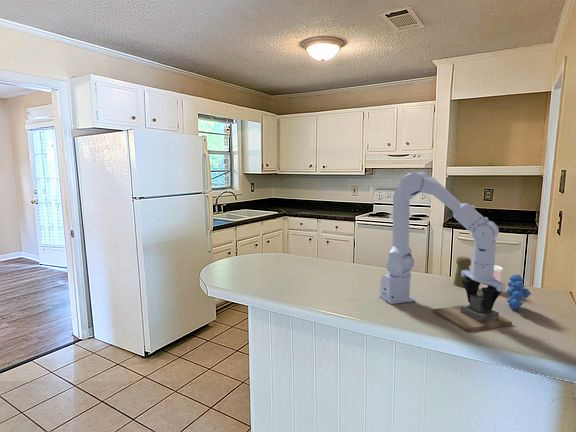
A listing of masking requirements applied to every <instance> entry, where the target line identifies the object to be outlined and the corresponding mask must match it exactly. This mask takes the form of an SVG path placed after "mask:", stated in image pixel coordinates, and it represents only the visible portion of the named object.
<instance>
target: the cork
mask: <svg viewBox="0 0 576 432" xmlns="http://www.w3.org/2000/svg"><path fill="white" fill-rule="evenodd" d="M455 262H456V265H457V266H456V271H455V273H454V274H455V276H454V280H453V286H456V287H459V288H465V287H464V285H463V283H462V280H464V279H466V277H462V276H461V270H468V271H471V270H470V266H472V259H471V258H470V257H467V256H459V257H457V258H456V260H455Z"/></svg>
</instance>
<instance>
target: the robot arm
mask: <svg viewBox="0 0 576 432" xmlns="http://www.w3.org/2000/svg"><path fill="white" fill-rule="evenodd" d="M420 193H422V194H426V195H427V194H428V195H432V196H434V197H435V198H436V199H437V200H439V202H441V203H442V204H444V205H445V207H448V208H449V209H450V210H451V211H452V217H453V218H454V220H456V221H458V223H459V224H461V226H463V227H464V228H465V230H467V231H468V232H470V233H471V236H472V238H473V240H474V244H473V251H472V260H471V270H470V271H468V270H461V276H462V277H466V279H464V280H462V283H463V285H464V287H463V288H464V290H465V292H466V296H467V302H468V303H469V304H470V295H474V294H478V293H479V292H478V291H479V287H480V285H482V284H483V287H481V291H482V292H481V293H483V296H484V310H485V311H491V310H493V308H494V305H495V303H496V301H497V299H498V297H499V296H500V295H501V293H503V292H505V291H506V284H505V283H503V282H501V281H500V282H499V281H498V280H496V279H495V276H493V274H494V265H495V260H496V249H497V248H496V246H497V237H498V235H499V234H500V233H499V231H500V230H499V227H498V225H497V224H496V223H495V222H494V221H492V220H489V218H488V217H487V216H485V217H484V216H483V215H482V214H481V213H480V212H478V210H476V206H475V205H474V204H471V205H470V204H469V203H468V202H467V203H466V202H465V203H462V202H460V200H458V199H457V198H456V197H455V196H454V195H453V194H452V193H451V192H450V191H449V190H448V189H447V188H445V187H444V185H442V184H441V183H440V182H439V181H438V180H437V179H436V178H435V177H433V176H431V175H430V174H429V173H428V172H426V171H418V172H416V171H415V172H414V171H411V172H407V173H406V174H405V175H403V176H402V177H401V178H400V180H399V184H398V185H397V187H396V189H395V190H394V191H393V195H392V246H391V249H390V251H389V252H388V259H387V260H386V264H385V268H386V271H387V272H388V273H387V274H384V275H382V276H381V278H380V292H379V295H378V297H380V298H381V299H382V300H384V301H386V302H387V303H389V304H390V305H393V304H394V305H395V304H403V303H410V302H415V301H416V299H415V298H413V297H411V296H410V295H411V275H412V273H411V269H412V268H413V267H414V265H415V259H414V257H413V254H412V249H411V247H410V204H411V203H410V202H411V200H412V199H413V198H414V197H415V196H417V195H418V194H420ZM484 285H487V286H488V287H484Z"/></svg>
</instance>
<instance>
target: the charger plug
mask: <svg viewBox="0 0 576 432" xmlns="http://www.w3.org/2000/svg"><path fill="white" fill-rule="evenodd" d="M469 304H470V307H469V309H470V310H472V311H474V312H476V313H478V314H483V313H490V312H491V311H485V310H484V296H483V292H477V294H474V295H470V303H469Z"/></svg>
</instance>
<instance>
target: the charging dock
mask: <svg viewBox="0 0 576 432" xmlns="http://www.w3.org/2000/svg"><path fill="white" fill-rule="evenodd" d="M469 307H470V303H469V304H463V305H455V306H446V307H439V308H433V309H432V313H433V314H436V315H437V316H439V317H441V318H442V319H444V320H445V321H447V322H449V323H451V324H452V325H454V326H456V327H458V328H460V329H461V330H462V331H464V332H465V333H468V332H476V331H481V330H487V329H493V328H500V327H507V326H512V324H513V321H511V319H508V318H505V317H503V316H501V315H500V313H499V311H496V310H494V309H492V310H491V312H490V313H483V314H478V313H476V312H474V311H472V310H470V309H469Z"/></svg>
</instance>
